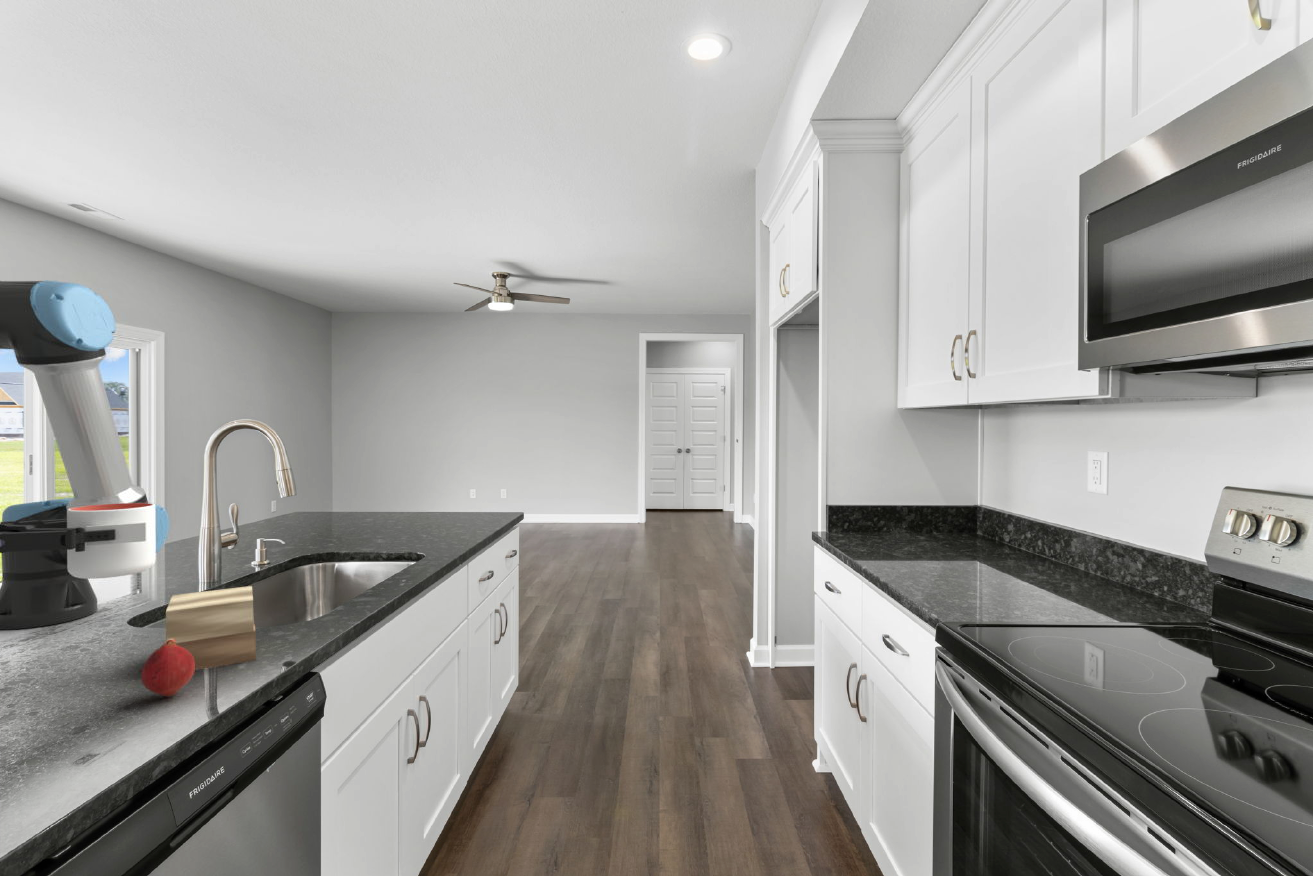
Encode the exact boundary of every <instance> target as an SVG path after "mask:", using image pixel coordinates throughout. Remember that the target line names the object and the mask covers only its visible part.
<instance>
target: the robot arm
mask: <svg viewBox="0 0 1313 876" xmlns="http://www.w3.org/2000/svg"><path fill="white" fill-rule="evenodd" d="M115 333H116V321H115V318H114V314H113V311H111V308H110V307H109V305H108V304H107V302H106V301H105V300H104V299H103V298H102V297H101V295H99V294H98V293H97V292H95V291H93V290H92V288H88V287H87V286H85V285H82V284H79V283H74V282H65V281H58V280H0V350H13V352H14V357H15V359H16V363H18V366H20V367H22V368H25V369H26V370H28V371H31V373H33V374H34V377H35V380H36V383H37V387H38V389H39V393H40V396H41V398H42V403H43V405H44V408H45V411H46V415H47V417H48V420H49V423H50V426H51V430H52V432H53V435H54V439H55V442H56V445H57V448H58V452H59V454H60V458H61V460H62V463H63V466H64V470H65V472H66V476H67V479H68V482H69V484H70V488H71V491H72V493H73V496H72V497H66V498H57V499H51V500H49V499H48V500H44V501H40V500H39V501H34V502H26V503H25V502H24V503H19V504H13V505H9V506H7V507H6V508H4V510H3V512H2V515H1V521H0V554H1V570H2V571H1V573H2V575H1V579H2V581H1V586H0V630H17V629H29V628H39V627H44V626H45V627H46V626H51V625H58V624H62V623H67V622H70V621H74V620H78V619H82V618H85V617H88V616H90V615H93V614H95V613H97V611H98V609H99V608H98V597H97V595H96V593H95V591H94V589H93V587H92V585H91V582H90V580H89V579H85V578H77V577H74V576H72V575H71V574H70V573H69V572H68V569H67V549H68V550H71V549H74V548H75V552H82V551H85V542H86V546H91V545H104V544H116V543H129V542H142V541H146V522H143V523H128V524H112V525H96V526H86V531H85V528H81V527H78V528H67V510H68V509H70V508H75V507H82V506H91V505H103V504H119V503H149V501H148V497H147V494H146V491H145V489H144V488H142V487H140V486H138V485H135V484H133V480H132V478H131V473H130V471H129V467H128V463H127V461H126V457H125V454H124V449H123V446H122V442H121V440H120V436H119V432H118V430H117V426H116V423H115V419H114V416H113V411H112V408H111V406H110V405H111V404H110V402H109V398H108V396H107V395H108V394H107V392H106V391H107V390H106V388H105V385H104V380H103V378H102V374H101V371H100V367H99V366H100V363H101V362H102V361H103V360H104V359H105V358H106V357H107V353H106V352H107V351H106V349H105V348H107V347H108V346H109V345H110V344H111V343H112V342H113V340H114V337H115V336H114V334H115ZM151 504H155V536H156V555H157V554H158V553H159V551H160V550H161V549H162V547H163V546H164V544H165V541H166V539H167V538H168V535H169V530H170V518H169V515H168V511H167V510H166V509H165V508H164V507H162V506H160V505H159V504H156V503H152V502H151Z"/></svg>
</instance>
